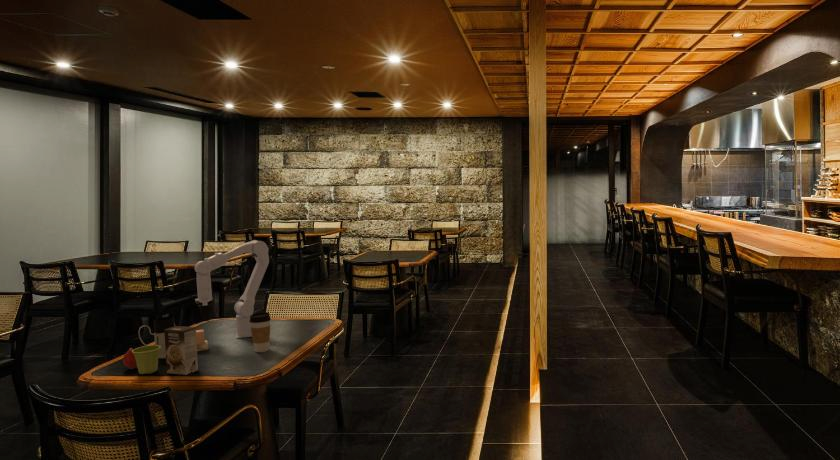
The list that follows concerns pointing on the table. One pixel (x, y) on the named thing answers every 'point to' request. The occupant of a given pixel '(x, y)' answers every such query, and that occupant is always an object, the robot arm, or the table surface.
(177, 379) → the table surface
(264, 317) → the coffee cup
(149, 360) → the plant pot
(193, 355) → the coffee box
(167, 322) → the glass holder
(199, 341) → the painted block
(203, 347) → the birch base
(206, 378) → the table surface
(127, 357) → the onion
